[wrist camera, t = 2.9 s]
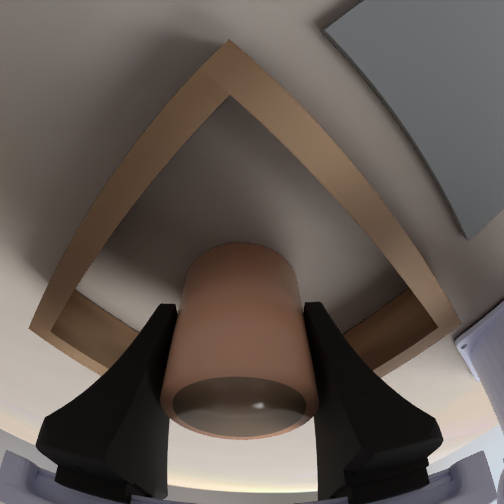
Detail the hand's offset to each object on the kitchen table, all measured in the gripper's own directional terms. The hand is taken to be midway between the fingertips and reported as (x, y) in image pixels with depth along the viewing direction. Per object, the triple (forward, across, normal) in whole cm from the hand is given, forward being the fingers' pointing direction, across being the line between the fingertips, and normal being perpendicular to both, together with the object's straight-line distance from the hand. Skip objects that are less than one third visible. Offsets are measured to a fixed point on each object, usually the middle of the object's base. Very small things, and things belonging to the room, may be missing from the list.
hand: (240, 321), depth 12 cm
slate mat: (+2, -10, -10) cm, 15 cm away
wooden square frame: (+2, 0, 0) cm, 2 cm away
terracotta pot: (+2, 0, 0) cm, 2 cm away
